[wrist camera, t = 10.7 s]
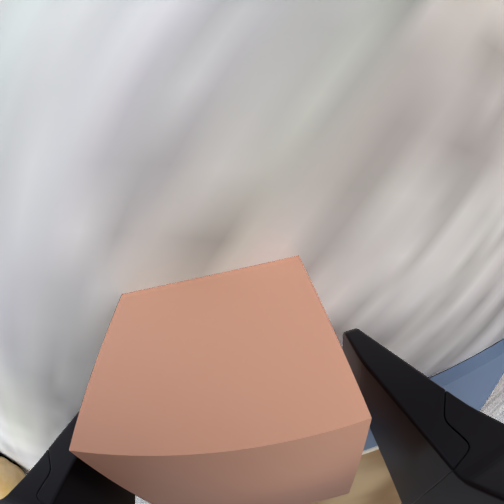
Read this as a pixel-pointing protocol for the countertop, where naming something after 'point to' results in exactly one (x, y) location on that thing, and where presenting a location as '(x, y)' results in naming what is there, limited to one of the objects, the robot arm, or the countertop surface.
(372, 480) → the oak brick
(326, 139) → the countertop surface
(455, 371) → the board
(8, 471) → the onion
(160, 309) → the terracotta cube
